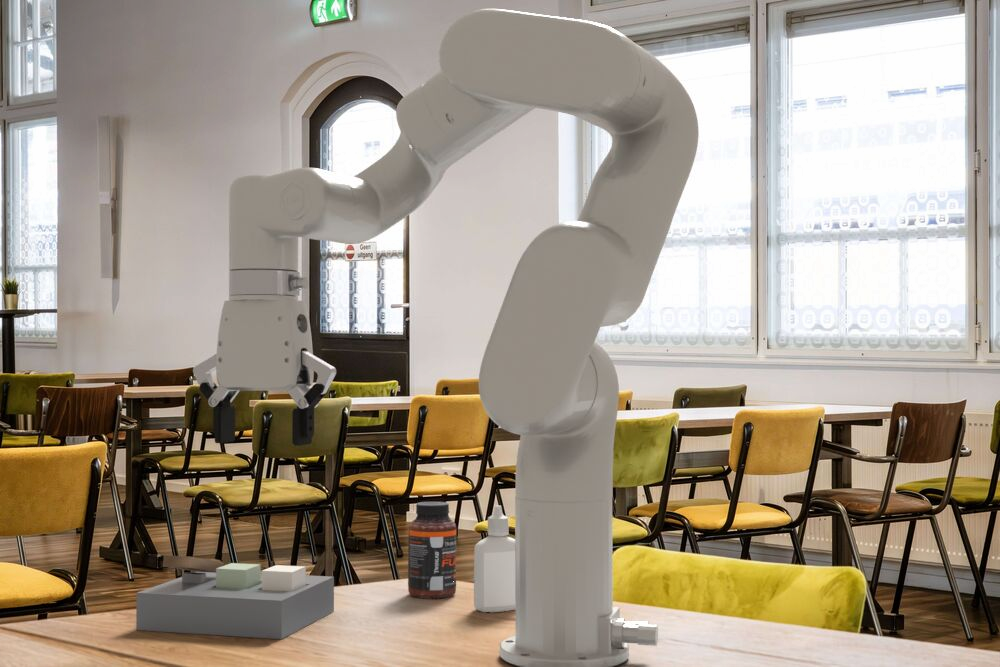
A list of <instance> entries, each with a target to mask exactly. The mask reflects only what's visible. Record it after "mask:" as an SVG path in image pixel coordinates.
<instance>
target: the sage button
mask: <svg viewBox="0 0 1000 667" xmlns="http://www.w3.org/2000/svg"><path fill="white" fill-rule="evenodd" d="M261 573H262V570H261V564H260V563H259V564H258V563H257V564H256V563H240V562H239V563H236V562H231V563H228V564H224V566H222V567H219V568H216V588H236V589H249V588H251V587H254V586H256V585H259V584H261Z"/></svg>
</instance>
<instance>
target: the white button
mask: <svg viewBox="0 0 1000 667" xmlns="http://www.w3.org/2000/svg"><path fill="white" fill-rule="evenodd" d="M306 569H307V566H304V565H303V566H301V565H279V564H275V565H273V566H270V567H268V568H265V569H263V570H261V573H262V590H274V591H293V592H294V591H296V590H299V589H301V588H303V587H305V586H306V575H307V572H306V571H307V570H306Z"/></svg>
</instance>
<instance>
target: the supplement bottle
mask: <svg viewBox="0 0 1000 667" xmlns="http://www.w3.org/2000/svg"><path fill="white" fill-rule="evenodd" d="M449 505H450V504H449V503H448V502H447V501H445V502H444V501H421V502H417V503H416V506H415V507H416V508H415V514H416V515H417V516H416V517H415V519H413V520H412V521H410V522H409V524H408V530H407V531H408V537H407V538H408V540H407V545H408V546H407V548H408V550H407V552H408V553H407V555H408V556H407V557H408V559H407V561H408V562H407V563H408V564H407V568H408V569H407V571H408V572H407V586H408V588H407V589H408V594H409V595H410V596H412V597H414V598H419V599H432V600H433V599H436V600H437V599H445V598H449V597H451V596H454V595H455V594H456V592H457V525H456V523H455V521H453V520H452V519H451V518H450V516H449V514H450V507H449ZM453 581H454V582H453Z"/></svg>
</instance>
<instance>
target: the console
mask: <svg viewBox="0 0 1000 667" xmlns="http://www.w3.org/2000/svg"><path fill="white" fill-rule="evenodd" d="M135 598H136V604H135V605H136V609H135V610H136V611H135V612H136V613H135V615H136V617H135V618H136V621H135V622H136V624H135V627H136V631H144V632H145V631H146V632H158V633H159V632H160V633H162V632H163V633H176V634H177V633H179V634H192V635H193V634H195V635H212V636H223V637H224V636H226V637H239V638H240V637H241V638H256V639H257V638H258V639H270V640H271V639H272V640H273V639H274V640H283V639H284V638H287V637H289V636H291V635H292V634H294V633H296V632H298V631H300V630H302V629H304V628H305V627H308V626H310V625H311V624H313V623H316V622H318V621H319V620H320V619H323V618H324V617H327V616H328V615H330V614H332V613H334V612H335V577H334V576H326V575H325V576H324V575H309V574H308V575H307V574H306V586H305V587H303V588H301V589H299V590H296V591H294V592H293V591H274V590H262V572H261V584H259V585H256V586H254V587H251V588H249V589H236V588H216V573H212V572H196V571H189V572H188V571H185V572H182V574H181V576H180V577H177V578H175V579H171V580H169V581H166V582H164V583H161V584H158V585H155V586H153V587H152V586H151V587H150V588H146V589H142V590H140V591H137V592H136V597H135Z"/></svg>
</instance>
